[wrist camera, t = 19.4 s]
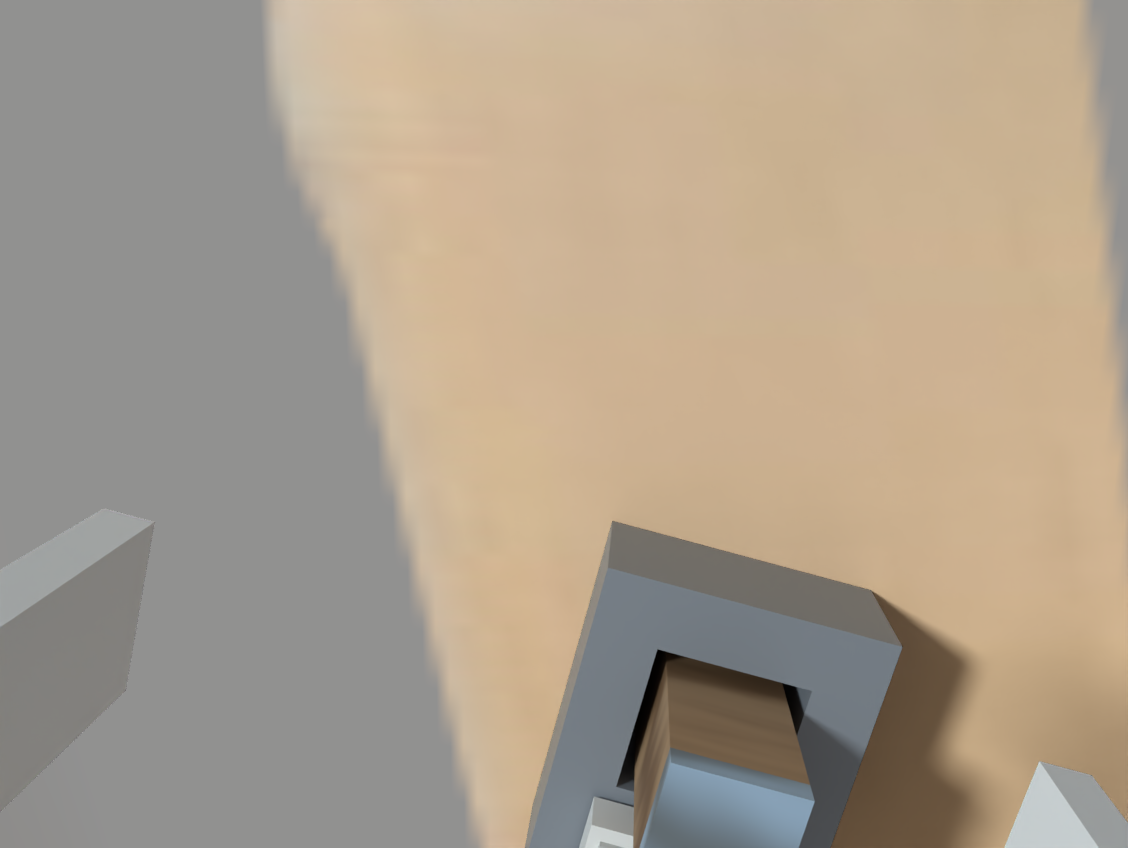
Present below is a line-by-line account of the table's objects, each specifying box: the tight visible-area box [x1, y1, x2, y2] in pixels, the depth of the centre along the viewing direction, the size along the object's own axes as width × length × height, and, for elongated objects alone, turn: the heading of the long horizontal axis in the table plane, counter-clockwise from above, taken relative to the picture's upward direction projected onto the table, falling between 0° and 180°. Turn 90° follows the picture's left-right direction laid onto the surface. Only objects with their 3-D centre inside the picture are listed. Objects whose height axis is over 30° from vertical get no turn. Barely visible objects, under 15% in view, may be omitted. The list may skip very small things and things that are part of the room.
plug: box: [633, 649, 815, 848], centre depth 42 cm, size 5×5×12 cm
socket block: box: [525, 521, 902, 848], centre depth 46 cm, size 15×12×6 cm
